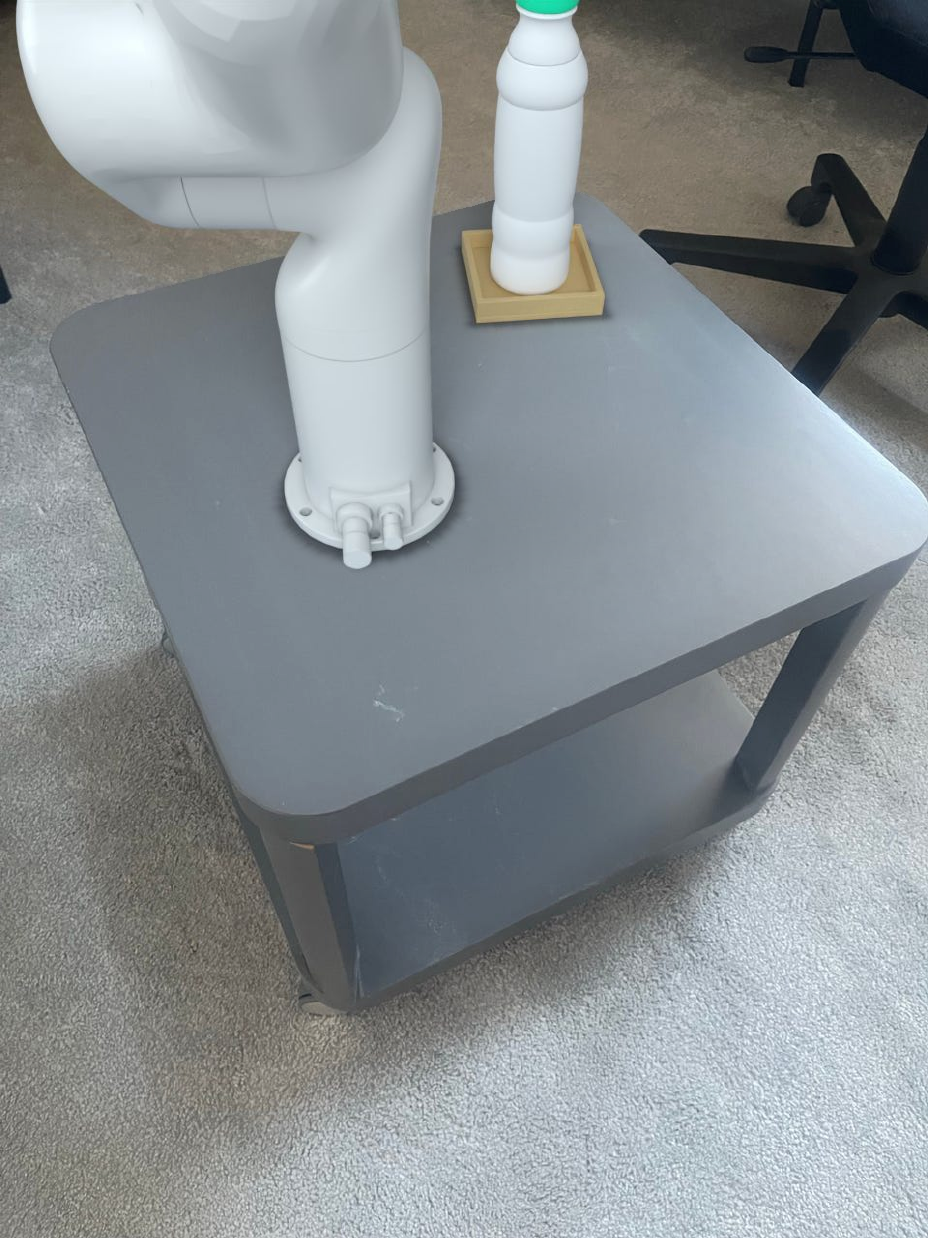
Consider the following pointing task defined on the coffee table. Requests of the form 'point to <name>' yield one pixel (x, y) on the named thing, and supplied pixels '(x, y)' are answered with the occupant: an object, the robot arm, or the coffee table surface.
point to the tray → (501, 305)
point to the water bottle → (537, 148)
